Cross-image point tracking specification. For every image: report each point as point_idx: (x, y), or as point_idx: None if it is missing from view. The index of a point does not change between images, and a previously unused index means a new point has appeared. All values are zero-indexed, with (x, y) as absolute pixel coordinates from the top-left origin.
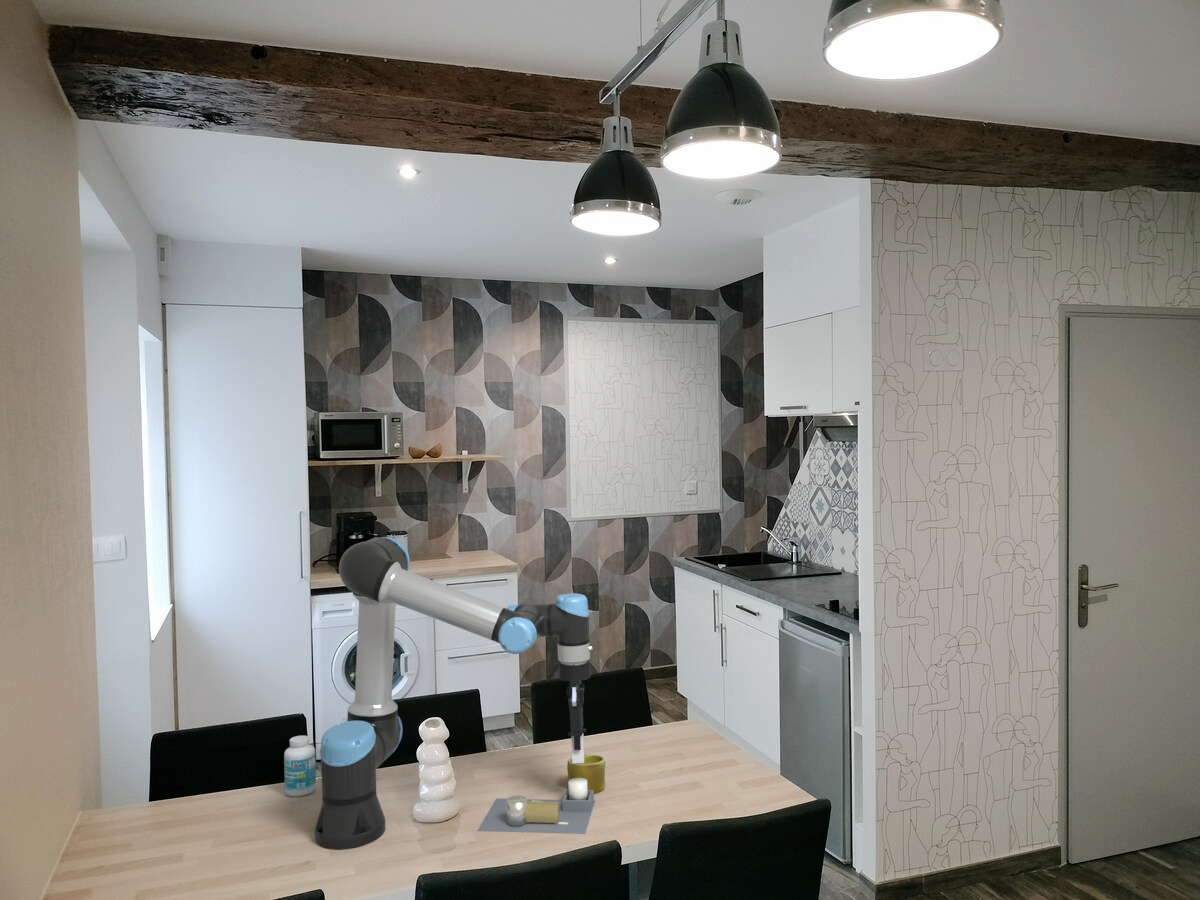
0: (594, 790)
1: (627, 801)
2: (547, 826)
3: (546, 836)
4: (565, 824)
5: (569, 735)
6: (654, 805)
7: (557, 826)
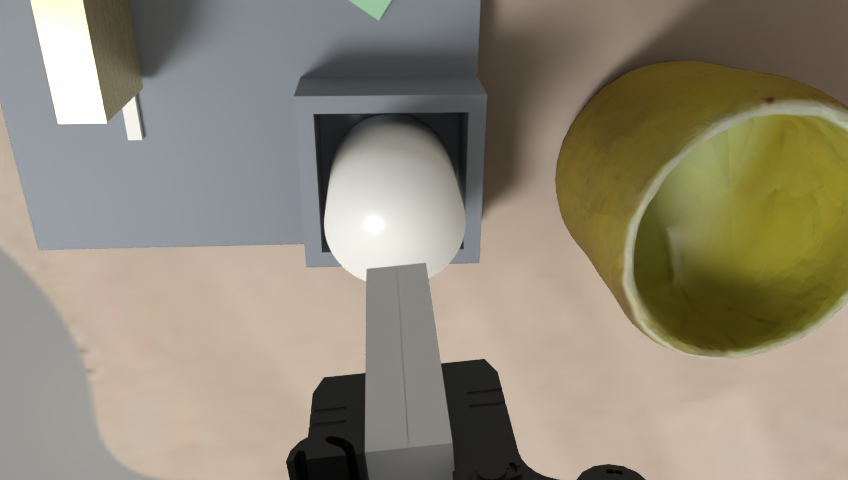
0: (570, 233)
1: (522, 367)
2: None
3: None
4: (125, 124)
5: (298, 457)
6: None
7: None
